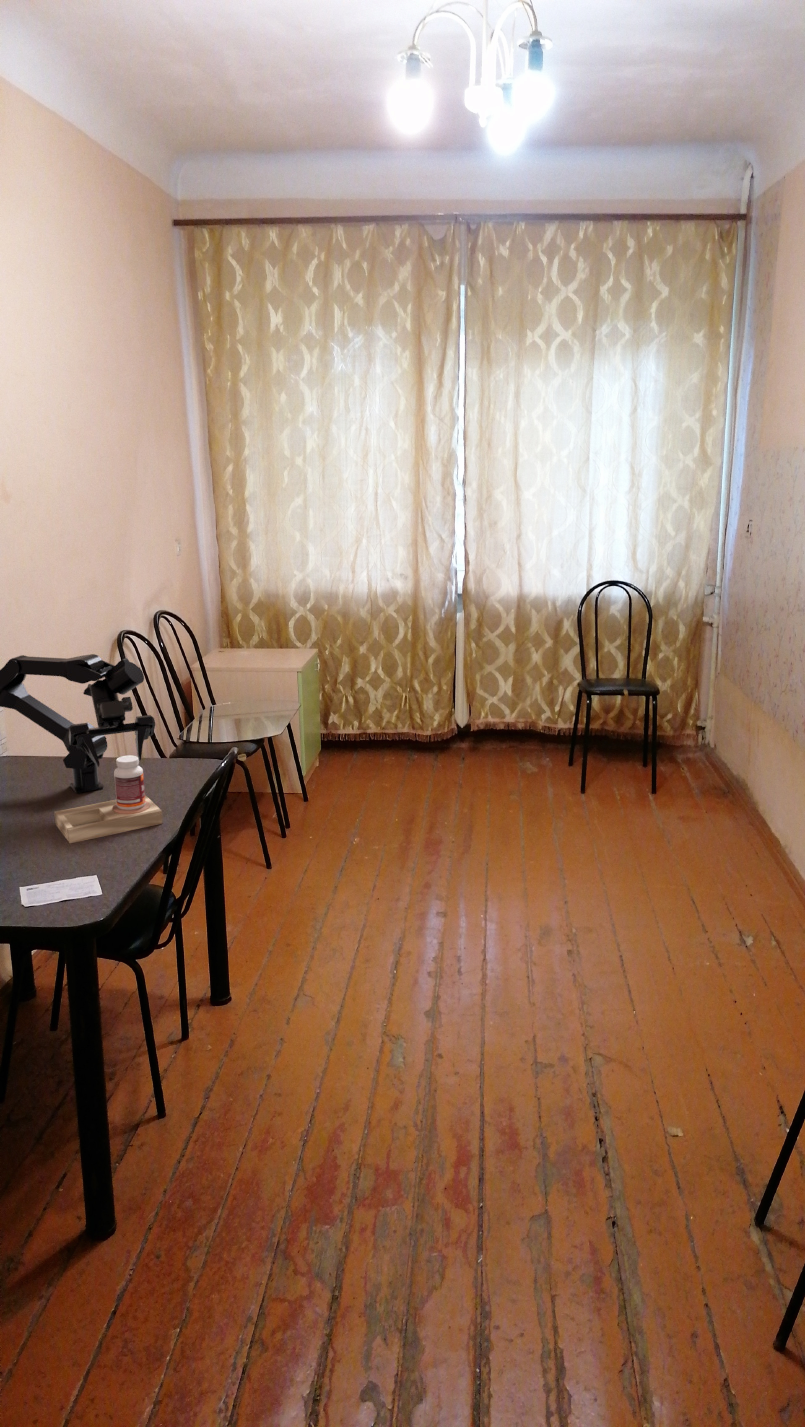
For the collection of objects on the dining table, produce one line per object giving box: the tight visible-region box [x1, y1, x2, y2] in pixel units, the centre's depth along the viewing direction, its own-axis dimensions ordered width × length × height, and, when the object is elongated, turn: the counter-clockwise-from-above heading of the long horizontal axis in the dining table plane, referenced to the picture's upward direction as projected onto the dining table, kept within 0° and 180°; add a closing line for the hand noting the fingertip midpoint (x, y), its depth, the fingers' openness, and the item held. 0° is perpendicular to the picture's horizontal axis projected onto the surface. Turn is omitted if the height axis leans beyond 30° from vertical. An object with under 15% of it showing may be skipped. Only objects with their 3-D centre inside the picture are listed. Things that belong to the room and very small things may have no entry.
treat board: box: [53, 794, 164, 844], centre depth 210 cm, size 12×20×3 cm, turn 123°
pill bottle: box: [113, 754, 146, 810], centre depth 210 cm, size 6×6×11 cm
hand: (119, 762), depth 216 cm, fingers open, 9 cm apart
